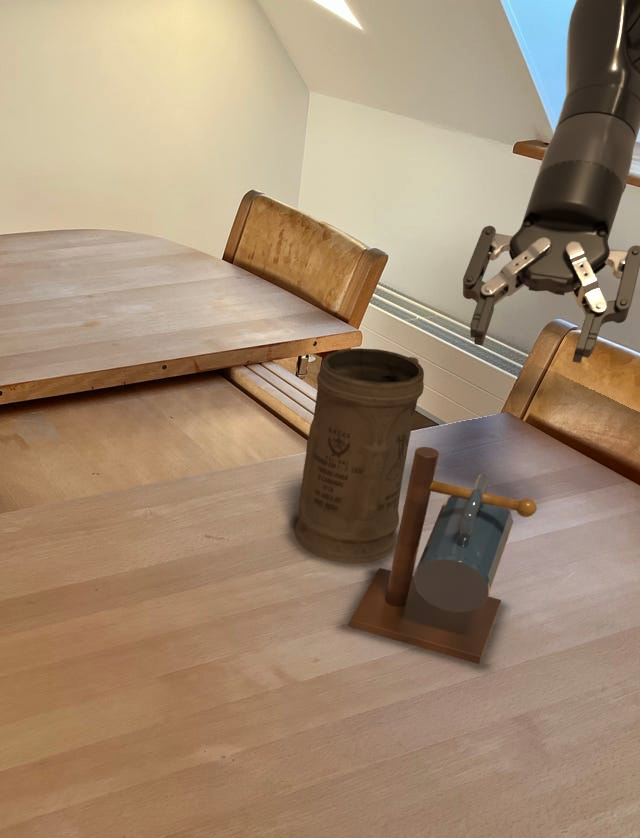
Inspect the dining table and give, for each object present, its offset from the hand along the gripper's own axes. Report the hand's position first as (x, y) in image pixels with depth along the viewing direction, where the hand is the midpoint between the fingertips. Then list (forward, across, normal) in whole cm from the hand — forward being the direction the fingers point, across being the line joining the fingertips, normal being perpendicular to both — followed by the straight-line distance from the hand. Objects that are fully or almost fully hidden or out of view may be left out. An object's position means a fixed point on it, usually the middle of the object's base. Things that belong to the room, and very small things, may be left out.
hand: (527, 349), depth 86 cm
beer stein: (+15, -13, +18) cm, 27 cm away
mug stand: (+24, -2, +8) cm, 26 cm away
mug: (+22, 0, -2) cm, 22 cm away
